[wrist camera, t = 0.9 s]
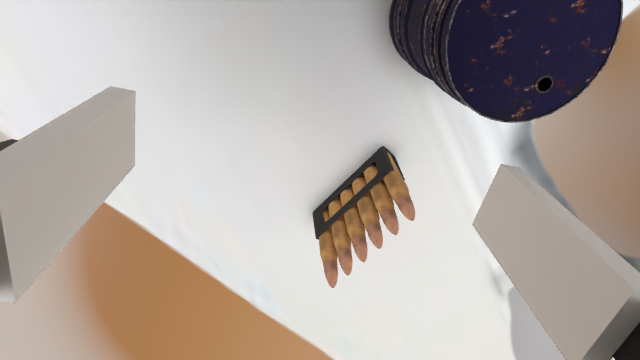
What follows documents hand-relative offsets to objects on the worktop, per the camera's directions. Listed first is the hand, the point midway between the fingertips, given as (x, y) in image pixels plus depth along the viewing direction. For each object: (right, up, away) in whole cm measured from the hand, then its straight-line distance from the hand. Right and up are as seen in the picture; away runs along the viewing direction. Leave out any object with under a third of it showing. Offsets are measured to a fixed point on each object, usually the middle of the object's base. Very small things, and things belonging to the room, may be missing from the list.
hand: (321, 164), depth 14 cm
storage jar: (+11, +14, +21) cm, 27 cm away
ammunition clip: (+3, -1, +28) cm, 28 cm away
